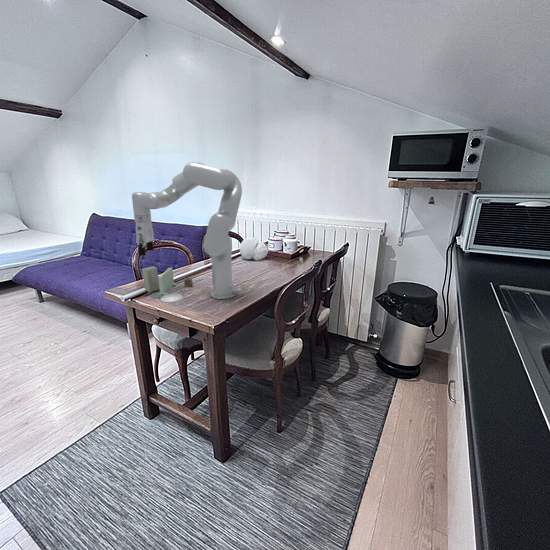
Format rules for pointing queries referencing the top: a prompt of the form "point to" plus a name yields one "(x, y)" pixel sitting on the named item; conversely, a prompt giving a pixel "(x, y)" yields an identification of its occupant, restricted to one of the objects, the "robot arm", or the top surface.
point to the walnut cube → (188, 282)
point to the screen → (166, 282)
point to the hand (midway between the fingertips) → (146, 252)
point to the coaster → (171, 298)
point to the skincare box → (150, 278)
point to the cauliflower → (253, 249)
